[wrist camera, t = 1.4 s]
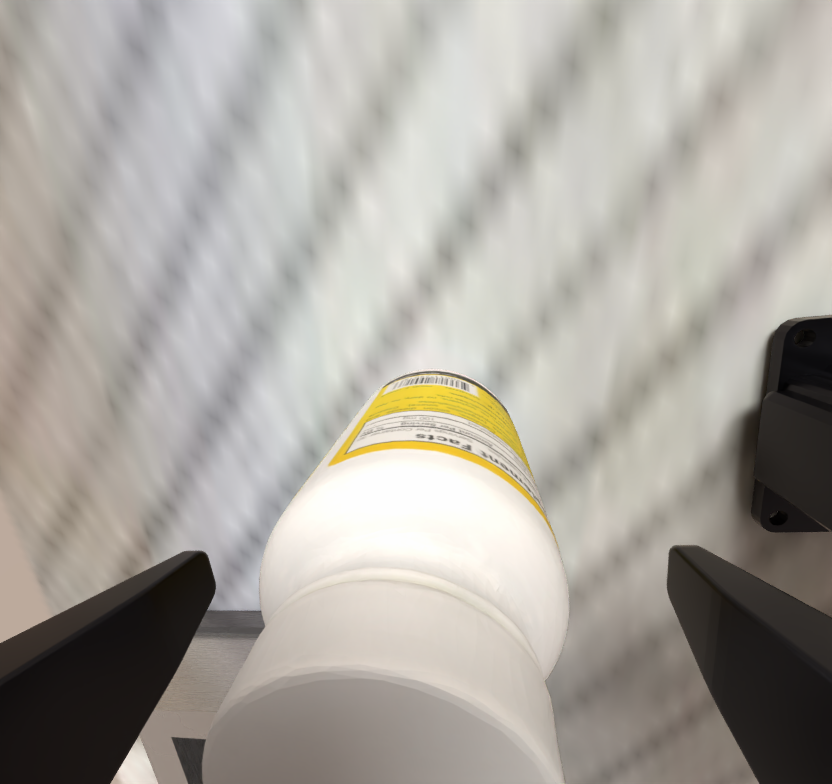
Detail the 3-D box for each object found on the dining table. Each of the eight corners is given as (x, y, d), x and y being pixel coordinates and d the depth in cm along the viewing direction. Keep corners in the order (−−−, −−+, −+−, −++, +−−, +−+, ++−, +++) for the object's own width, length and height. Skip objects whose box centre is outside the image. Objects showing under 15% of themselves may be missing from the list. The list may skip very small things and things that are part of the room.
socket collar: (427, 612, 15) (415, 715, 12) (449, 792, 18) (445, 922, 14) (193, 610, 17) (118, 701, 13) (244, 777, 20) (194, 891, 16)
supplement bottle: (429, 540, 15) (362, 1008, 5) (326, 432, 14) (39, 751, 5) (552, 455, 13) (765, 893, 4) (444, 330, 12) (378, 488, 3)
